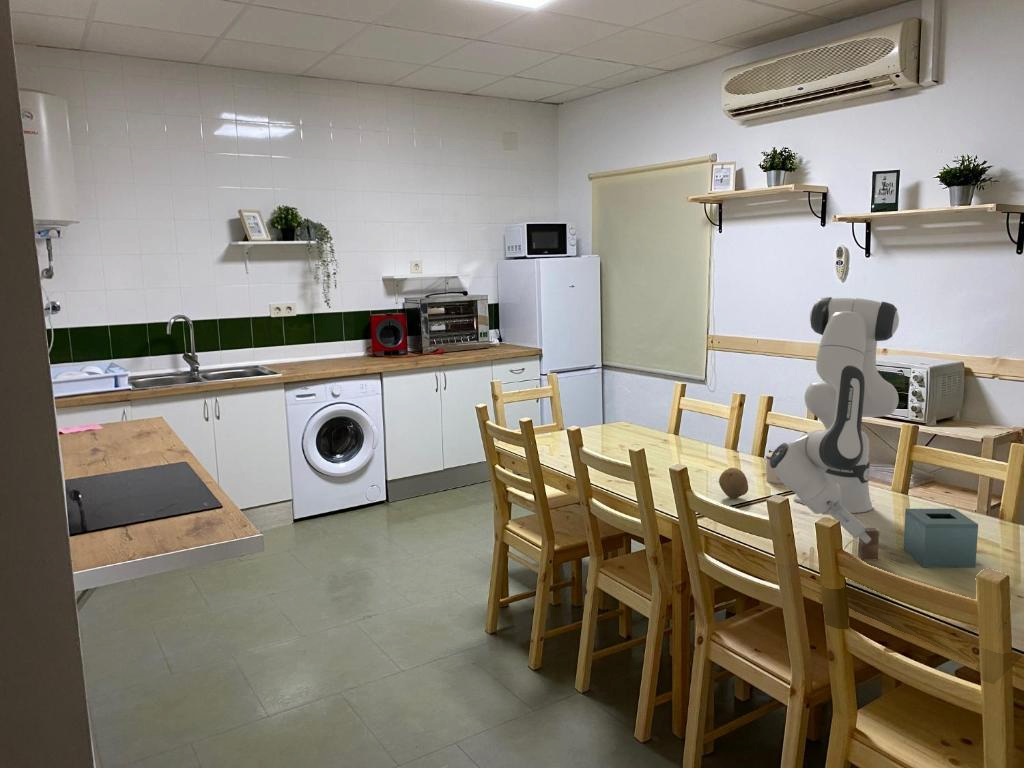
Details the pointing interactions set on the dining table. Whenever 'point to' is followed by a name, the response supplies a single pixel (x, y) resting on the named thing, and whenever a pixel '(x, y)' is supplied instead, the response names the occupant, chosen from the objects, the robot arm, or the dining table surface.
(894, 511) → the dining table surface
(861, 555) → the walnut block
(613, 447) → the dining table surface
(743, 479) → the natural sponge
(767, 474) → the teacup with lid
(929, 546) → the blue-gray slotted box
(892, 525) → the dining table surface
